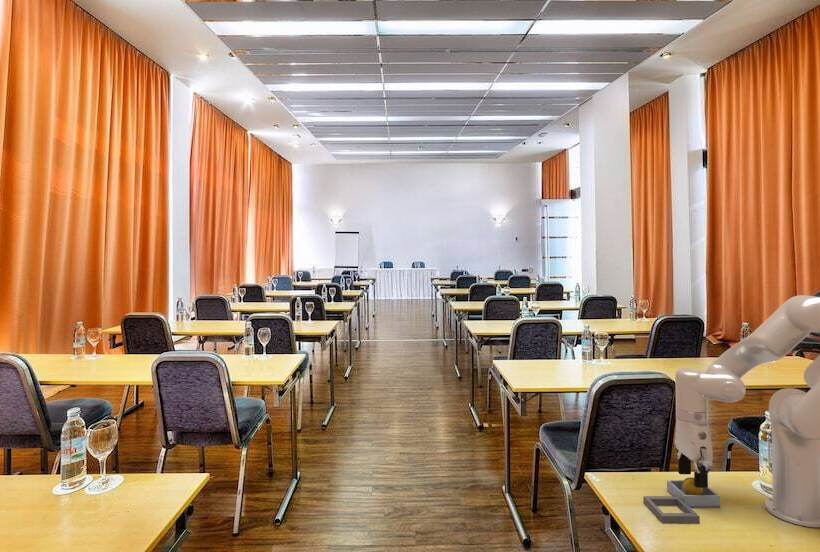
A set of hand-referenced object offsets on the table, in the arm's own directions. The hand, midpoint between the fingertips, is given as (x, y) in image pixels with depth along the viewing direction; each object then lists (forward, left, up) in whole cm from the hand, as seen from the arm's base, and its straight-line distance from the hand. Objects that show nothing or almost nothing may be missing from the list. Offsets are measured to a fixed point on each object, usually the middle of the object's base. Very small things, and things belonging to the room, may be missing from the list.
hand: (692, 479), depth 124 cm
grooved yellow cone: (0, +1, -5) cm, 5 cm away
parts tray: (0, 0, -5) cm, 5 cm away
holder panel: (+10, +7, -5) cm, 13 cm away
